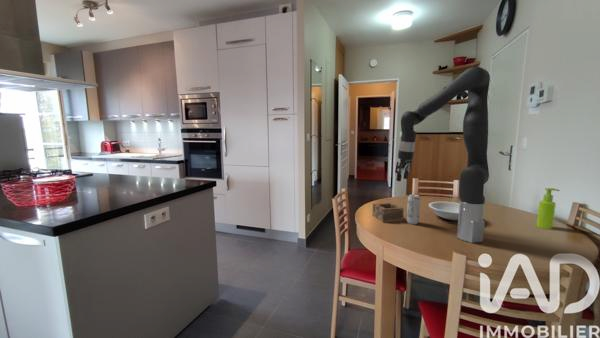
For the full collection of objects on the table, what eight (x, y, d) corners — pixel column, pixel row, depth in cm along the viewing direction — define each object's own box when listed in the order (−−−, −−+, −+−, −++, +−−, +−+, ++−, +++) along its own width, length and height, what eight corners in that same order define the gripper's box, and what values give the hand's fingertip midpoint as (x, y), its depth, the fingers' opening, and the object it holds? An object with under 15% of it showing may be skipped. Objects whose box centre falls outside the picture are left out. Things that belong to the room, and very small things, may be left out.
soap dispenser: (557, 229, 131) (563, 190, 128) (541, 228, 132) (546, 189, 130) (549, 225, 137) (554, 187, 134) (533, 224, 138) (538, 187, 135)
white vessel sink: (463, 212, 159) (464, 201, 158) (487, 226, 136) (488, 214, 135) (421, 211, 162) (422, 200, 161) (438, 225, 138) (438, 212, 137)
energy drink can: (420, 224, 138) (422, 196, 136) (408, 224, 138) (410, 196, 136) (415, 221, 144) (417, 194, 142) (404, 220, 144) (406, 194, 142)
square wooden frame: (403, 220, 145) (403, 208, 144) (382, 222, 142) (383, 209, 141) (391, 214, 156) (391, 202, 155) (372, 215, 154) (372, 203, 153)
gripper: (407, 152, 132) (403, 183, 135) (418, 150, 142) (414, 179, 145) (393, 149, 137) (389, 180, 140) (405, 148, 147) (401, 176, 150)
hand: (402, 179), depth 143 cm, fingers open, 8 cm apart
